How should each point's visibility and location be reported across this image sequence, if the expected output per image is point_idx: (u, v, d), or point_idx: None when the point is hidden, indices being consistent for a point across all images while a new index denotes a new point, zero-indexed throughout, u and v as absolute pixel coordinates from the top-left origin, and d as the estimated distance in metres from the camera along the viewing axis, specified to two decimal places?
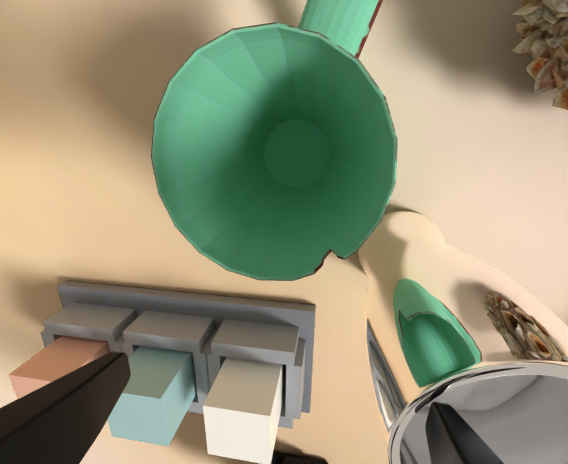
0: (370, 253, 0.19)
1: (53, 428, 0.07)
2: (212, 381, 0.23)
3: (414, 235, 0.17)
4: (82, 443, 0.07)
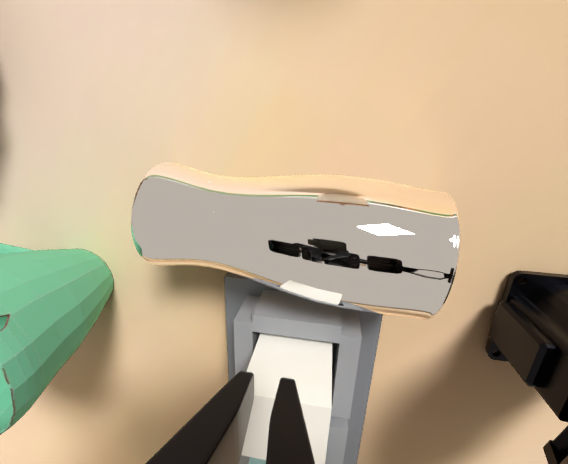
0: None
1: (219, 463, 0.06)
2: None
3: (217, 261, 0.15)
4: None
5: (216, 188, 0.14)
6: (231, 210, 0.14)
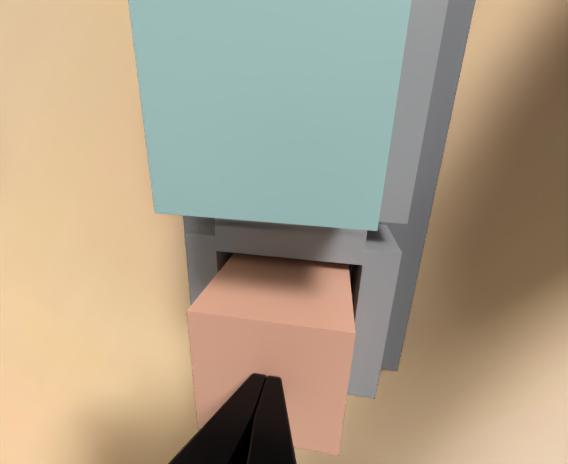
0: None
1: None
2: None
3: None
4: None
5: None
6: None
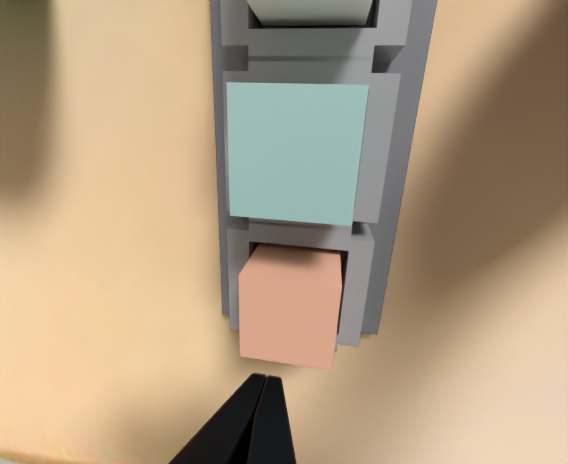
0: None
1: None
2: (310, 49, 0.12)
3: None
4: None
5: None
6: None
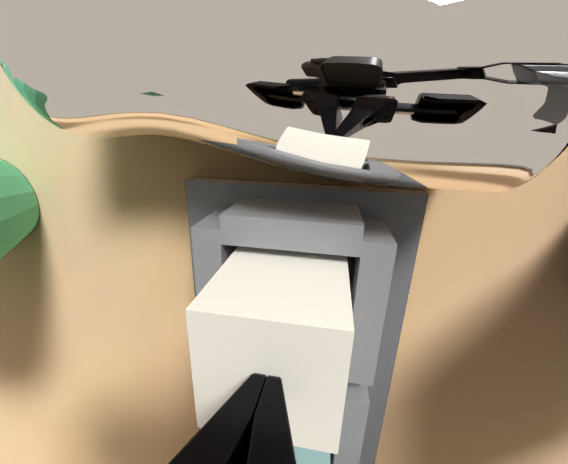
0: None
1: None
2: None
3: (146, 90, 0.08)
4: None
5: None
6: None
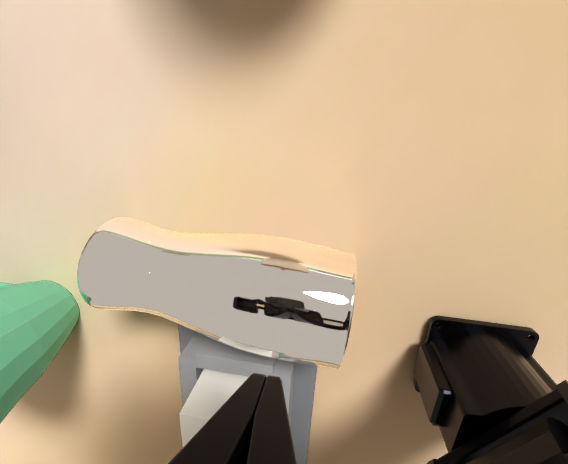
0: None
1: None
2: None
3: (156, 312, 0.17)
4: None
5: (154, 249, 0.16)
6: (165, 271, 0.16)
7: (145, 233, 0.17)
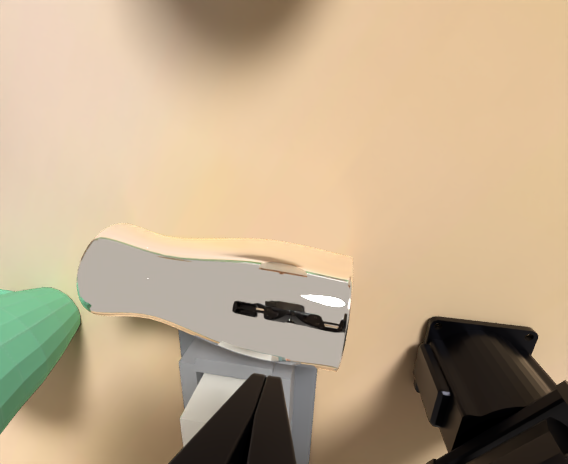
0: None
1: None
2: None
3: (155, 318, 0.17)
4: None
5: (152, 255, 0.16)
6: (163, 277, 0.16)
7: (143, 239, 0.17)
